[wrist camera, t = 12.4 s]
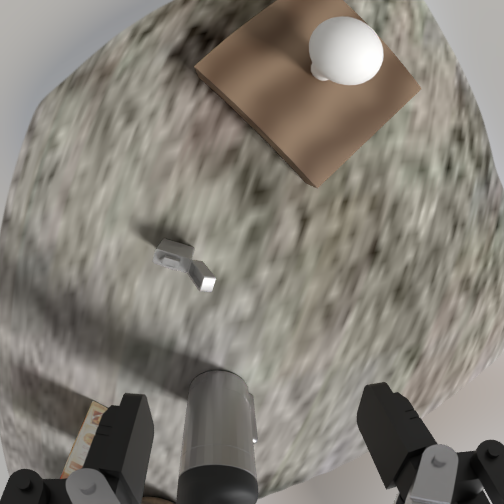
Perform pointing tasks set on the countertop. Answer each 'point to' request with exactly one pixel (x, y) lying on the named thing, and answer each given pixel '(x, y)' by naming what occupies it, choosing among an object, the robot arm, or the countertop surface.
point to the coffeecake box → (83, 439)
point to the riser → (302, 88)
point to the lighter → (184, 263)
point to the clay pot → (154, 500)
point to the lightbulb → (345, 51)
